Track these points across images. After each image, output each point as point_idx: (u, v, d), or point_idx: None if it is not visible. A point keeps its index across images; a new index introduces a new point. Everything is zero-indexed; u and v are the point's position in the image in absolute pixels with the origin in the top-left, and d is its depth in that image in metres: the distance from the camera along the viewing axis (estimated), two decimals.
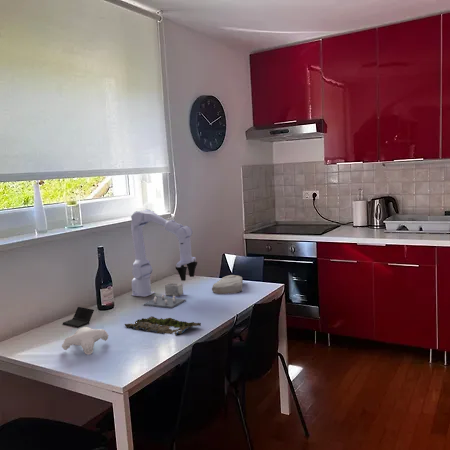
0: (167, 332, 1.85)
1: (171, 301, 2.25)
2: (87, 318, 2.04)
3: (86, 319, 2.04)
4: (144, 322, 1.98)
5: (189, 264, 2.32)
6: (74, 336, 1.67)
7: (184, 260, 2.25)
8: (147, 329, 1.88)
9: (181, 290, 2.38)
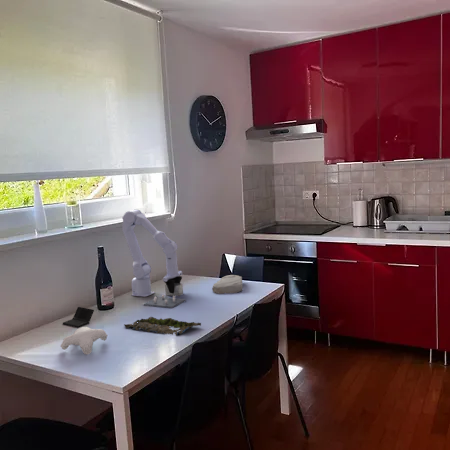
0: (167, 332, 1.85)
1: (171, 301, 2.25)
2: (87, 318, 2.04)
3: (86, 319, 2.04)
4: (143, 322, 1.98)
5: (174, 278, 2.41)
6: (73, 336, 1.67)
7: (170, 274, 2.35)
8: (147, 329, 1.88)
9: (181, 290, 2.38)
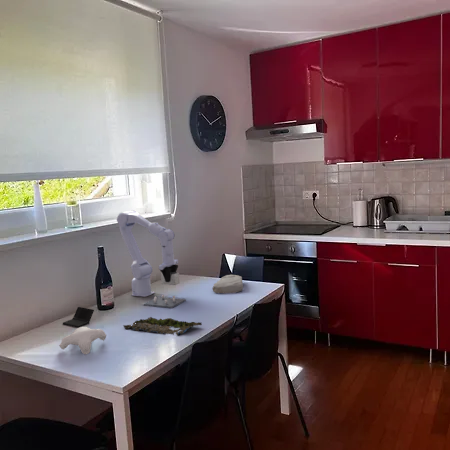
0: (168, 332, 1.84)
1: (171, 301, 2.25)
2: (87, 318, 2.04)
3: (86, 319, 2.04)
4: (143, 323, 1.97)
5: (170, 267, 2.35)
6: (71, 336, 1.68)
7: (166, 263, 2.30)
8: (147, 330, 1.88)
9: (177, 279, 2.33)
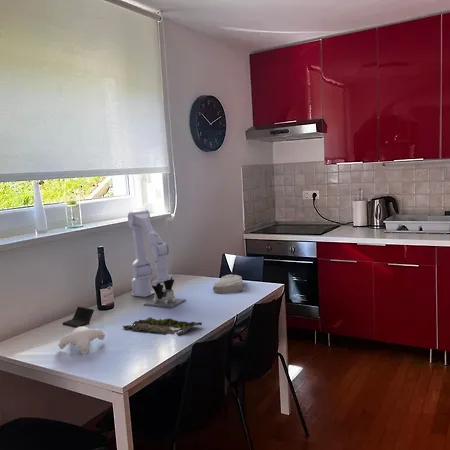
0: (168, 332, 1.84)
1: None
2: (87, 318, 2.04)
3: (86, 319, 2.04)
4: (142, 323, 1.96)
5: (166, 282, 2.28)
6: (70, 335, 1.68)
7: (160, 278, 2.21)
8: (147, 330, 1.87)
9: (172, 297, 2.24)
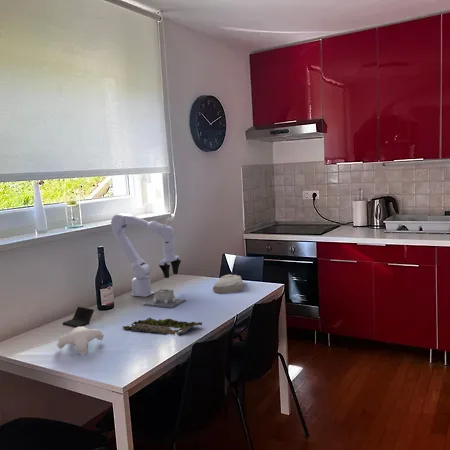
0: (169, 332, 1.84)
1: None
2: (87, 318, 2.04)
3: (86, 319, 2.04)
4: (142, 324, 1.96)
5: (173, 262, 2.42)
6: (68, 335, 1.68)
7: (167, 258, 2.36)
8: (147, 330, 1.87)
9: (172, 297, 2.24)
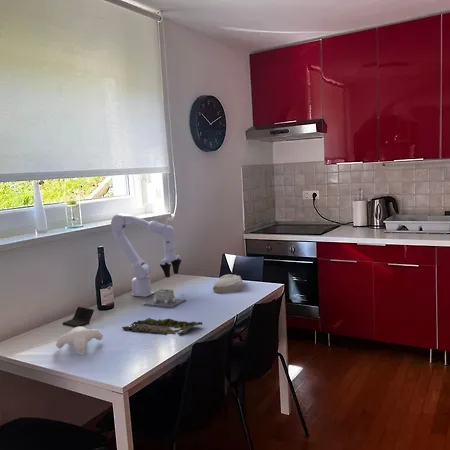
0: (169, 332, 1.84)
1: None
2: (87, 318, 2.04)
3: (86, 319, 2.04)
4: (141, 324, 1.96)
5: (173, 262, 2.44)
6: (67, 335, 1.68)
7: (168, 258, 2.37)
8: (148, 331, 1.86)
9: (172, 297, 2.24)
